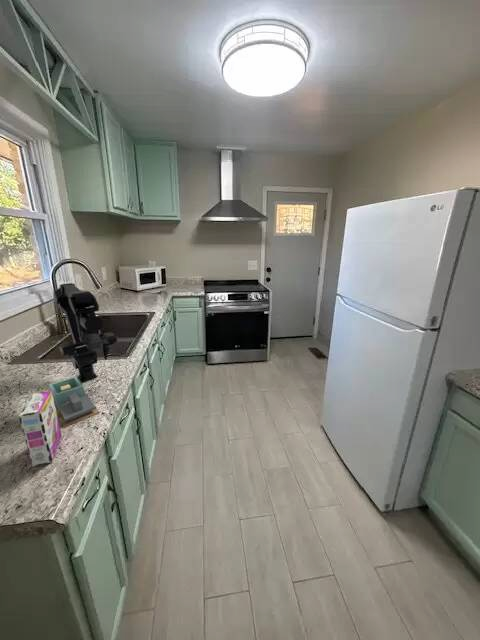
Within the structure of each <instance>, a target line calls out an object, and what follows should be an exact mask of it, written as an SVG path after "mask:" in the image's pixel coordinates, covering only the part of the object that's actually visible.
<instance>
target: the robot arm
mask: <svg viewBox="0 0 480 640" xmlns="http://www.w3.org/2000/svg"><path fill="white" fill-rule="evenodd" d="M53 293H54V294H53V299H54V304H55V305H57V308H58V309H59V310H60V311H61V312H62V313H63V314H64V315H65V318H66V321H67V325H68V328H69V331H70V335H71V337H72V341H73V342H72V341H67V342H64V343H63V342H62V343H60V344H59V347H58V348H59V351H60V353H62V355H63V356H68V357H71V364H72V366H73V368H74V369H75V370H77V371H78V375H77V376H76V377H77V379H78V380H79V381H80V383H83V382H87V381H90V380H93V379H95V378H98V375H97V374H96V372H95V368H94V365H95V364H97V363H98V352H96V350H99V349H102V352H103V353H102V354H103V357H104V360H106V361H107V360H108V355H109V351H110V348H111V347H112V346H114V345H115V343H117V342H118V336H117V335H116V334H115V333H113V332H107V333H106V332H104V333H99V331H100V330H101V329H102V328H103V327H104V322H103V320H102V318H101V317H99V316H98V315H96V313H95V312H98V311H99V310H100V309H99V307H100V306H99V302H98V301H97V298H96V296H95V295H94V294H93V293H92V292H91V291H89V290H81V289H79V288H78V287H77V286H76V284H75V283H73V282H69V283H61V284H59V287H58V289H56V290H55V291H54V292H53Z"/></svg>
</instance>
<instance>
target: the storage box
mask: <svg viewBox="0 0 480 640" xmlns="http://www.w3.org/2000/svg"><path fill="white" fill-rule="evenodd" d="M48 385H49V389H50V390H49V391H52V394H53V399H54V403H55V406H56V407H57V408H58V406H57V405H59V404H62V403H65V402H68V401H69V397H68V395H69V394H72V393H74V392H76V393H77V395H78V396H79V397H82V396H84V395H86V394H85V389H84V385H83V384H82V382H81V381H80V380H79V378H78V377H77V376H72V377H69V378H66V379H62V380H60V381H57V382H53V383H49V384H48Z"/></svg>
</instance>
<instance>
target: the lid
mask: <svg viewBox="0 0 480 640" xmlns="http://www.w3.org/2000/svg"><path fill="white" fill-rule="evenodd" d="M68 397H69V401H68V402H65V403H62V404H59V405H56V407H57V406H58V407H57V409H59V410H60V412H61V414H62V416H63V418H64V420H65V421H67V420H69V421H70V420H72V419H74V418H77V417H79V416H82V415H84V414H87V413H89V412H91V411H92V410H94V409H96V408H97V406H96V405H95V404H94V402H93V401H92V399H91V398H90V397H89V396H88V395H87V394H85V395H84V396H82V397H79V396H78V395H77V393H76V392H74V393H72V394H69V395H68ZM89 398H90V399H89ZM92 402H93V403H92ZM95 406H96V407H95Z"/></svg>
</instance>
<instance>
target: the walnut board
mask: <svg viewBox="0 0 480 640" xmlns="http://www.w3.org/2000/svg"><path fill="white" fill-rule="evenodd" d="M89 399H90V400H91V398H90V397H89ZM92 403H93V404H94V402H93V401H92ZM95 407H96V409H94V410H92V411H91V412H89V413H87V414H84V415H82V416H79V417H77V418H74V419H72V420H70V421H69V420H67V421H65V420H64V418H63V416H62V414H61V412H60V410H59V409H58V408H57V409H56V413H57V417H58V420H59V422H60V423H61V425H62V427H63V428H66V427H70V426H72V425H74V424H77V423H78V422H81V421H84V420H86V419H89V418H90V417H93V416H96V415H99V414H100V413H101V412H100V411H99V408H97V406H96V405H95Z"/></svg>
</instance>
